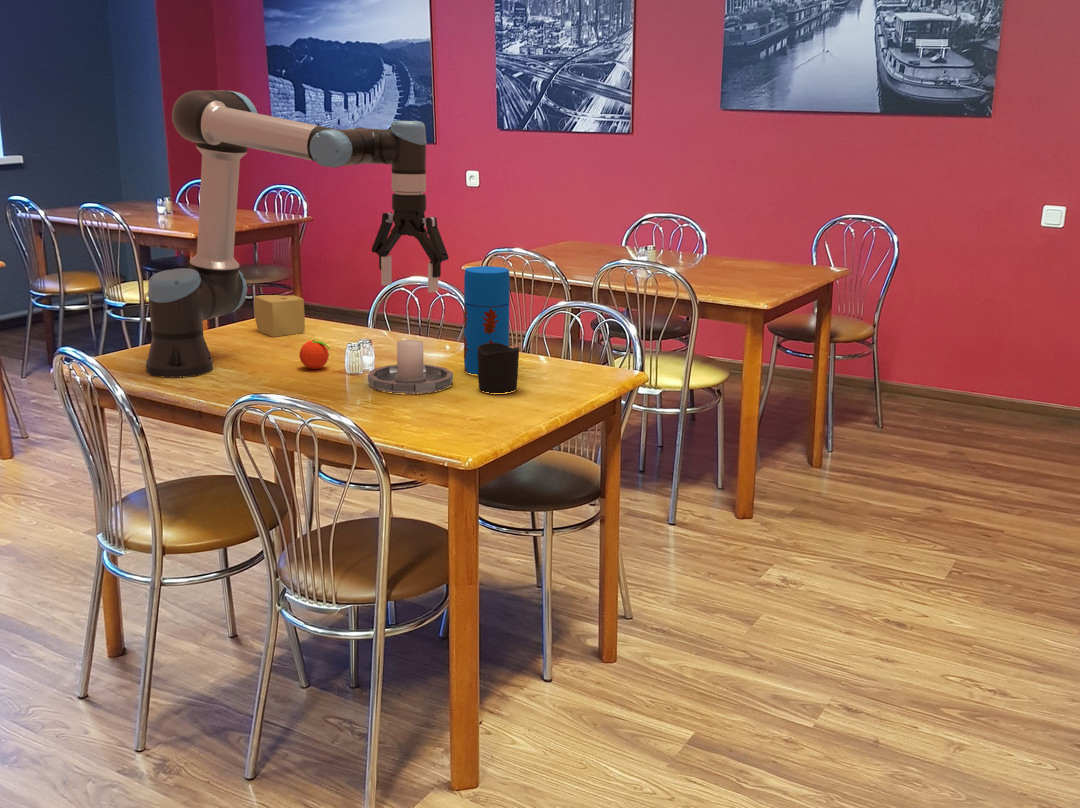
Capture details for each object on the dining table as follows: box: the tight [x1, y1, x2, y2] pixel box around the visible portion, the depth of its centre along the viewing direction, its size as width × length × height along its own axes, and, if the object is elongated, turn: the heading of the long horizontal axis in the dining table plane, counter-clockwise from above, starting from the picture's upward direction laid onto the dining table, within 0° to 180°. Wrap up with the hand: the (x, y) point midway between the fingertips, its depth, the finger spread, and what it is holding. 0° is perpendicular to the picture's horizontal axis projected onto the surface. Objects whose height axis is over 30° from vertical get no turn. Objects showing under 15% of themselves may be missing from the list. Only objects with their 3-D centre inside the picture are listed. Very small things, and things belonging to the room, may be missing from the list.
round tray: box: [367, 363, 454, 395], centre depth 255 cm, size 19×19×2 cm
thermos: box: [463, 265, 511, 375], centre depth 264 cm, size 11×11×25 cm
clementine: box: [299, 339, 332, 370], centre depth 266 cm, size 8×7×7 cm
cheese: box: [253, 294, 306, 338], centre depth 304 cm, size 10×11×10 cm
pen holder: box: [477, 343, 520, 393], centre depth 250 cm, size 9×9×10 cm
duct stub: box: [395, 339, 426, 383], centre depth 253 cm, size 7×7×9 cm
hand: (409, 288), depth 249 cm, fingers open, 13 cm apart
